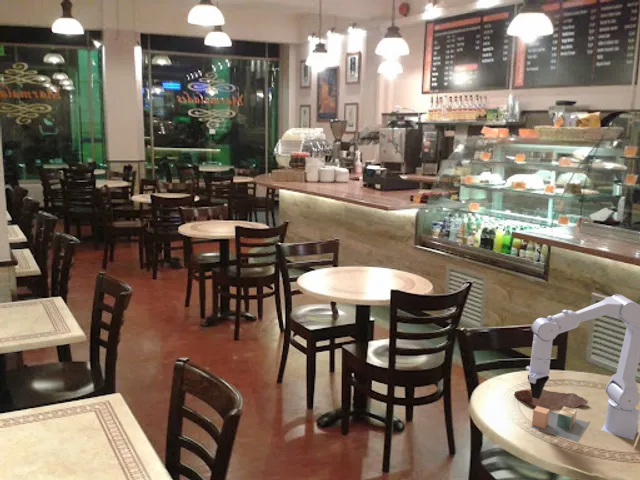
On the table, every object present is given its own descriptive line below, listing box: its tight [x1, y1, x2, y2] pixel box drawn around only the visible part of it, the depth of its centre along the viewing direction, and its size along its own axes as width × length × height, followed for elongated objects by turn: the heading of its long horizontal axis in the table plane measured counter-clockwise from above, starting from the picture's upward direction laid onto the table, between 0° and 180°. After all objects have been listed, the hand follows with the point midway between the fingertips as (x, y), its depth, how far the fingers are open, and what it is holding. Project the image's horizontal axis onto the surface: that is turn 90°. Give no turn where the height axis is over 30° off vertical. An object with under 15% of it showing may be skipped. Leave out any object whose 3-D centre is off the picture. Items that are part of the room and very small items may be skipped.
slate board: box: [531, 410, 590, 443], centre depth 200 cm, size 14×16×1 cm
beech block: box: [557, 406, 577, 429], centre depth 201 cm, size 4×4×7 cm
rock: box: [513, 388, 589, 410], centre depth 217 cm, size 10×24×10 cm
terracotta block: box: [531, 406, 551, 429], centre depth 199 cm, size 4×4×5 cm
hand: (535, 397), depth 196 cm, fingers closed
